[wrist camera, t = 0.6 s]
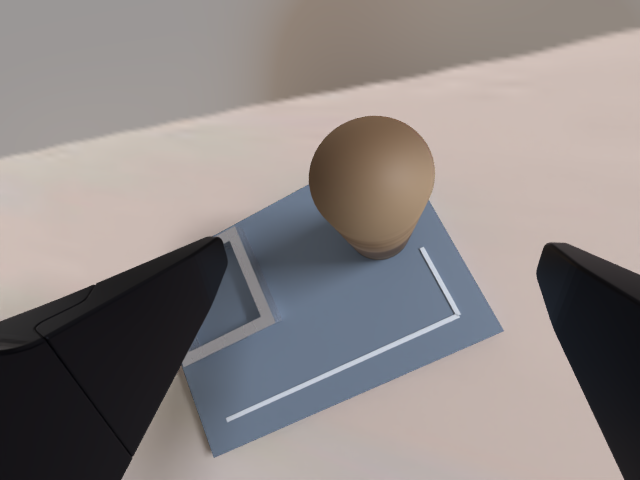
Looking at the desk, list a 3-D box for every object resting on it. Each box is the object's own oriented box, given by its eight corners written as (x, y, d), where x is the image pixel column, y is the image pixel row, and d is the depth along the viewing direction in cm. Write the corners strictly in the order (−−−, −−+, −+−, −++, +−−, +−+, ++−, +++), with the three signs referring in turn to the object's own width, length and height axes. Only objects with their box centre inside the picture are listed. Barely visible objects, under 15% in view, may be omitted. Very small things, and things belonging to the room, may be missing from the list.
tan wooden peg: (422, 242, 22) (459, 198, 11) (364, 270, 23) (341, 258, 11) (392, 188, 23) (396, 94, 12) (337, 216, 24) (289, 153, 12)
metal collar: (282, 320, 24) (275, 322, 22) (195, 362, 25) (183, 367, 23) (243, 229, 25) (234, 226, 24) (163, 272, 26) (150, 271, 25)
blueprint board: (498, 328, 22) (504, 331, 20) (220, 450, 24) (213, 458, 23) (393, 144, 25) (393, 138, 24) (157, 271, 27) (147, 270, 26)
